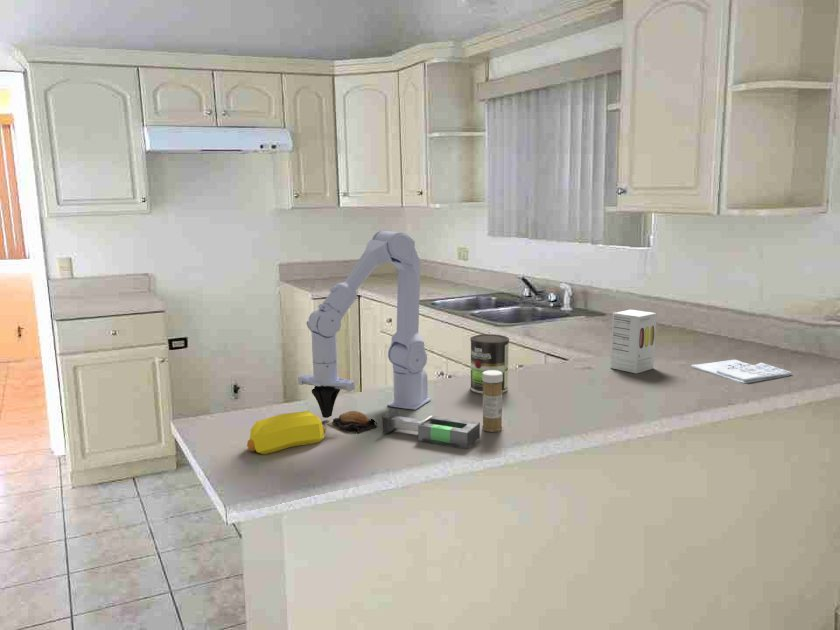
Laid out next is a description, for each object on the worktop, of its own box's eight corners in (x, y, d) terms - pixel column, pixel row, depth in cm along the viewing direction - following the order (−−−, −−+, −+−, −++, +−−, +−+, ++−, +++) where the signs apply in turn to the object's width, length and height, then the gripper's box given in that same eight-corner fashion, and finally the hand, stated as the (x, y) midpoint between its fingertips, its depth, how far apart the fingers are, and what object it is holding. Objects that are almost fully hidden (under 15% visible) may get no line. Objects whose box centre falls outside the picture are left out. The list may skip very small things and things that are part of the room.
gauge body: (432, 430, 165) (432, 415, 165) (479, 438, 160) (479, 422, 160) (418, 441, 159) (418, 425, 158) (467, 449, 154) (467, 432, 153)
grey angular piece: (395, 424, 169) (394, 409, 168) (435, 431, 164) (435, 415, 164) (382, 433, 163) (382, 417, 163) (423, 439, 159) (423, 423, 158)
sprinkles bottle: (490, 424, 169) (490, 368, 166) (506, 429, 166) (506, 371, 163) (478, 429, 166) (478, 372, 163) (494, 434, 163) (494, 376, 160)
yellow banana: (333, 442, 160) (318, 432, 166) (331, 412, 158) (316, 404, 165) (254, 460, 150) (241, 448, 157) (252, 429, 149) (239, 418, 155)
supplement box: (636, 374, 210) (639, 316, 207) (609, 368, 217) (611, 312, 214) (654, 368, 216) (657, 312, 213) (627, 362, 223) (629, 308, 220)
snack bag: (743, 385, 199) (744, 378, 199) (688, 368, 217) (689, 361, 217) (793, 377, 207) (793, 370, 206) (736, 361, 225) (736, 354, 225)
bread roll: (324, 427, 170) (324, 412, 170) (351, 418, 176) (351, 404, 176) (355, 437, 163) (355, 422, 163) (382, 427, 169) (382, 412, 169)
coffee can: (493, 396, 190) (493, 344, 188) (462, 389, 197) (462, 338, 195) (516, 388, 198) (516, 337, 195) (486, 381, 205) (486, 332, 202)
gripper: (289, 361, 170) (292, 417, 173) (342, 368, 164) (344, 425, 167) (306, 355, 177) (309, 408, 179) (358, 360, 170) (360, 416, 173)
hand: (327, 416), depth 173 cm, fingers closed
